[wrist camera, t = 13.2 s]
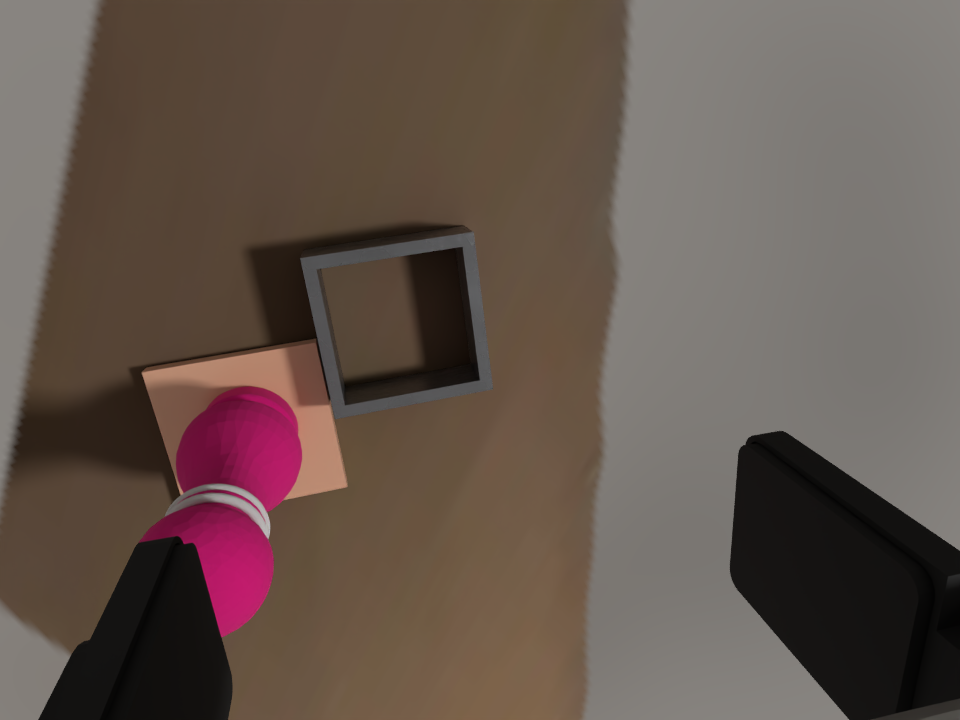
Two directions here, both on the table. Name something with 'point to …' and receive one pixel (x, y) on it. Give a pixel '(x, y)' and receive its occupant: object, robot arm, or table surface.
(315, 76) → the table surface
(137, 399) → the table surface
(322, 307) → the holder sleeve
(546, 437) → the table surface
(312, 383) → the plate
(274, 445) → the pepper mill
